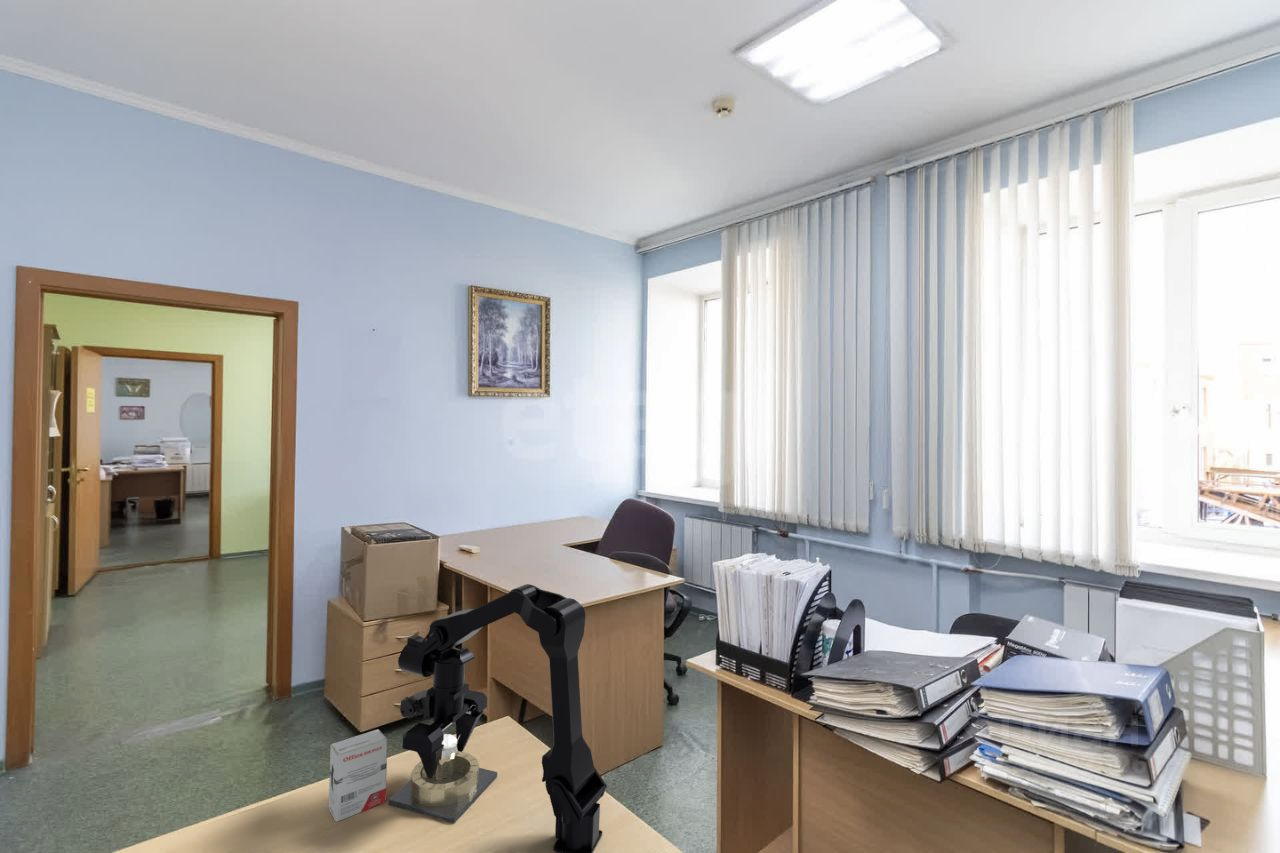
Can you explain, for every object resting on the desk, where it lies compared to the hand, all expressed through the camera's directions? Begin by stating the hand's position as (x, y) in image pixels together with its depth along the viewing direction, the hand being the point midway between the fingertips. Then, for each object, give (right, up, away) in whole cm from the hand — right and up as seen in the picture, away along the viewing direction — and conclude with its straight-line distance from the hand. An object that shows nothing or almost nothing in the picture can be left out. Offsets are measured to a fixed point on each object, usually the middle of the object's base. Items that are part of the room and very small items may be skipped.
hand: (445, 763), depth 110 cm
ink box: (-14, -5, -5) cm, 16 cm away
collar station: (0, -5, 0) cm, 5 cm away
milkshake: (0, -4, 0) cm, 4 cm away
